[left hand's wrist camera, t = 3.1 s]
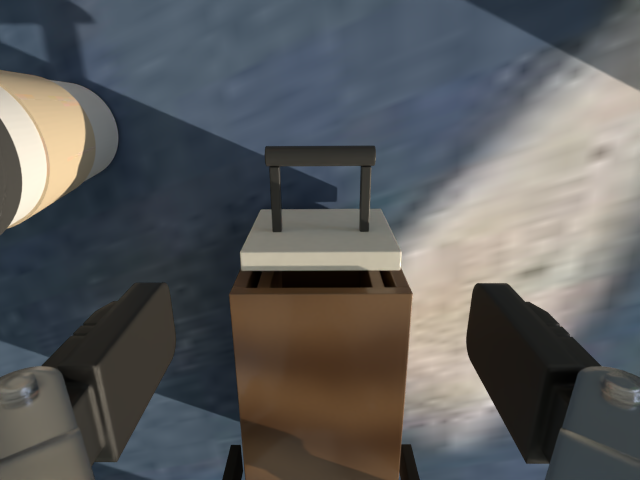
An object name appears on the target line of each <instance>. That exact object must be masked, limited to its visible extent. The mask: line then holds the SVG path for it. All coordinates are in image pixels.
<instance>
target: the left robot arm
mask: <svg viewBox="0 0 640 480" xmlns="http://www.w3.org/2000/svg"><path fill="white" fill-rule="evenodd" d="M73 334H74V335H73V336H70V337H69V338H68V339H67V340H66V341H65V343H64V344H63V345H62V346H61V347H60V348H59V349H58V350H57V351H56V352H55V353H54V354H53V355H52V356H51V357H50V358H49V359H48V360H47V361H46V362H45V363H44V364H43V365H42V366H38V367H30V368H25V369H21V370H18V371H14V372H12V373H9V374H7V375H4V376H2V377H0V480H95V478H94V475H93V471H92V468H91V467H92V465H93V463H94V462H117V461H118V459H119V457H120V455H121V453H122V452H123V450H124V448H125V446H126V444H127V442H128V440H129V439H130V437H131V435H132V433H133V431H134V429H135V427H136V426H137V424H138V422H139V420H140V418H141V416H142V414H143V413H144V411H145V409H146V407H147V405H148V403H149V401H150V400H151V398H152V396H153V394H154V392H155V390H156V388H157V387H158V385H159V383H160V381H161V379H162V377H163V375H164V373H165V372H166V370H167V368H168V366H169V364H170V362H171V360H172V358H173V356H174V352H175V346H176V334H175V326H174V319H173V311H172V304H171V297H170V290H169V287H168V285H167V284H166V283H134V284H133V285H132V286H131V287H130V289H129V290H128V291H127V292H126V293H125V294H124V295H123V296H122V297H121V298H120V299H119V300H118V301H113V302H111V303H109V304H108V305H106V306H104V307H102V308H100V309H99V310H97V311H95V312H94V313H93V314H92V315H91V316H90V317H89V318H88V319H87V320H86V321H85V322H84V323H83V326H80V327H79V328H78V329H77V330H76V331H75V332H74V333H73ZM466 344H467V352H468V356H469V359H470V361H471V363H472V364H473V366H474V368H475V370H476V372H477V374H478V375H479V377H480V379H481V381H482V383H483V385H484V387H485V388H486V390H487V392H488V394H489V396H490V398H491V399H492V401H493V403H494V405H495V407H496V409H497V410H498V412H499V414H500V416H501V418H502V420H503V421H504V423H505V425H506V427H507V429H508V431H509V432H510V434H511V436H512V438H513V440H514V442H515V443H516V445H517V447H518V449H519V451H520V453H521V454H522V456H523V458H524V460H525V462H526V464H550V465H549V468H548V471H547V475H546V478H545V480H640V377H638V376H636V375H633V374H631V373H628V372H626V371H622V370H619V369H615V368H610V367H602V366H601V365H600V364H599V363H598V362H597V361H596V360H595V359H594V358H593V357H592V356H591V355H590V354H589V353H588V352H587V351H586V350H585V349H584V348H583V347H582V346H581V345H580V344H579V343H578V342H577V341H576V340H575V339H574V338H573V337H570V334H569V333H568V332H567V331H566V330H565V329H564V328H563V327H560V324H559V323H558V322H557V321H556V320H555V319H554V318H553V317H552V316H551V315H550V314H549V313H548V312H546V311H545V310H543V309H541V308H539V307H537V306H536V305H534V304H532V303H530V302H525V301H524V300H523V299H522V298H521V297H520V296H519V295H518V294H517V293H516V292H515V291H514V290H513V289H512V287H511V286H510V285H509V284H507V283H477V284H476V285H475V286H474V289H473V293H472V300H471V307H470V314H469V321H468V329H467V336H466Z"/></svg>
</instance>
